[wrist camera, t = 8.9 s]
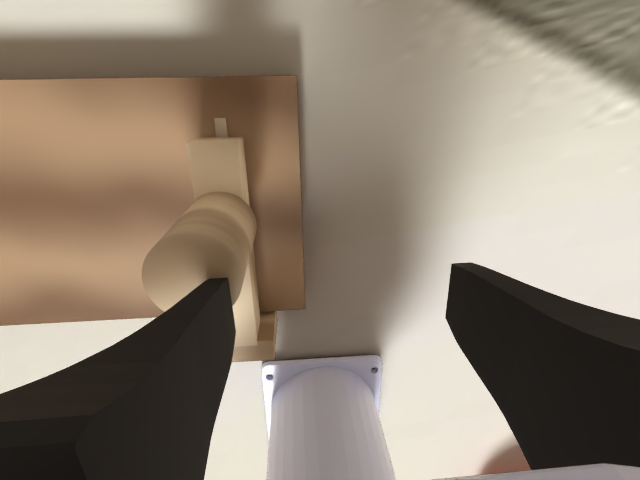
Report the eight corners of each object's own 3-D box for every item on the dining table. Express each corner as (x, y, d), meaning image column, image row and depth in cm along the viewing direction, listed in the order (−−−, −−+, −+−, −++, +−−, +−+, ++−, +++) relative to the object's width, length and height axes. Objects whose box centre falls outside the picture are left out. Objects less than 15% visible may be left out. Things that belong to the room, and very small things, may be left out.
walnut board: (304, 291, 22) (305, 310, 20) (-40, 308, 21) (-74, 330, 19) (296, 77, 18) (296, 75, 16) (-143, 84, 16) (-202, 82, 14)
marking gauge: (277, 320, 22) (268, 448, 14) (217, 323, 22) (174, 455, 14) (263, 132, 18) (240, 163, 10) (189, 134, 18) (104, 167, 10)
